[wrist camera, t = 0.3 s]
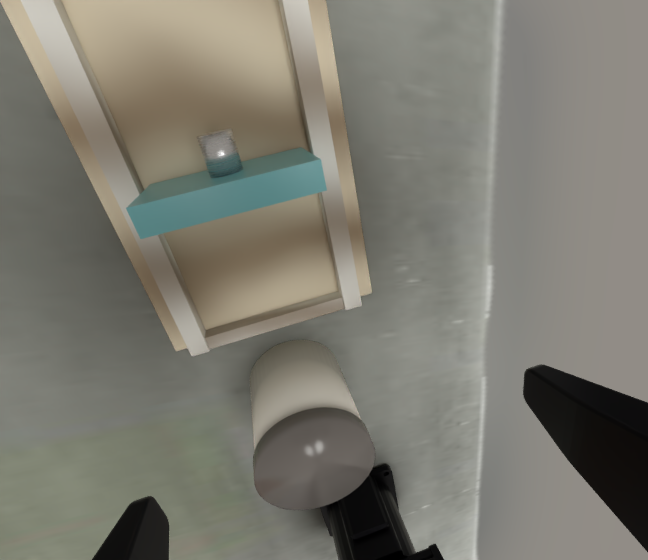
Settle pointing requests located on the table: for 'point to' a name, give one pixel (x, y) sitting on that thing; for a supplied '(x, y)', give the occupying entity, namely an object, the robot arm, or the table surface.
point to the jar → (306, 428)
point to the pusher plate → (225, 186)
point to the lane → (186, 157)
